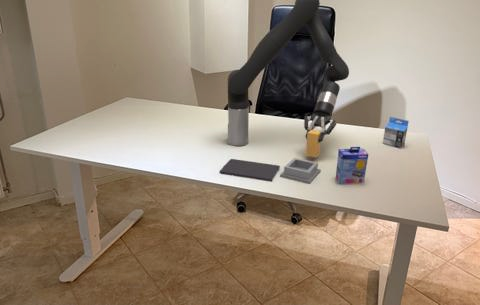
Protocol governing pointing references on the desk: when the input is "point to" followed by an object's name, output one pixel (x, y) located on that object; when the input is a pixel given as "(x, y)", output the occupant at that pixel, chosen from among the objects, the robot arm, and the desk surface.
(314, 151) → the orange cap block
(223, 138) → the desk surface
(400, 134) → the blue grey product box
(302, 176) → the square socket
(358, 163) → the ink cartridge box
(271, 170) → the notebook
